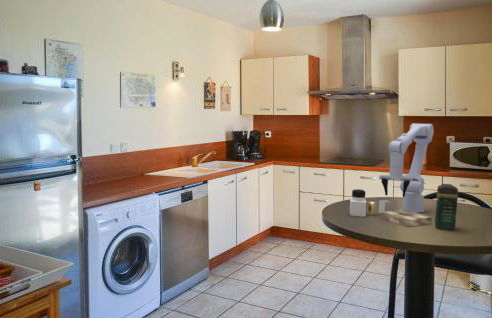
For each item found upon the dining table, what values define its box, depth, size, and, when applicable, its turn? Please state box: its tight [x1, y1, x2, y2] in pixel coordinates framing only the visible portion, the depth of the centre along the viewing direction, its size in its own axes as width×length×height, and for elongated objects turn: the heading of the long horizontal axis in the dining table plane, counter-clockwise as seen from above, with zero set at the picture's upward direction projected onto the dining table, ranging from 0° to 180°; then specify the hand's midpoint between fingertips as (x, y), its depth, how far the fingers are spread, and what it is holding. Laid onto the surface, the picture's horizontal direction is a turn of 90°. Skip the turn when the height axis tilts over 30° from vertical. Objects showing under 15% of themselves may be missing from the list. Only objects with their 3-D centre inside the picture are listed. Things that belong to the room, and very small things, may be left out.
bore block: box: [380, 209, 433, 228], centre depth 197 cm, size 14×16×3 cm
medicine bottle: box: [349, 188, 368, 218], centre depth 207 cm, size 7×7×12 cm
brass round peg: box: [367, 200, 378, 216], centre depth 209 cm, size 4×4×6 cm
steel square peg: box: [378, 199, 392, 214], centre depth 213 cm, size 4×4×6 cm
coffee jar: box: [434, 183, 459, 231], centre depth 186 cm, size 10×8×19 cm
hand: (394, 195), depth 205 cm, fingers open, 7 cm apart
